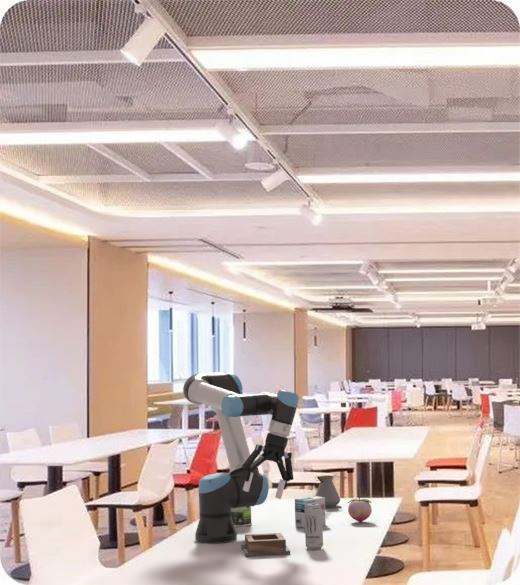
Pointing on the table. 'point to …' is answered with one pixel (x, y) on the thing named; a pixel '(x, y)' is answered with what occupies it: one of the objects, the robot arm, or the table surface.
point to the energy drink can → (313, 526)
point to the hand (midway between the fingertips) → (261, 494)
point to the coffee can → (241, 516)
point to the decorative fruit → (359, 509)
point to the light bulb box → (301, 505)
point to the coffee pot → (327, 491)
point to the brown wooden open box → (265, 545)
